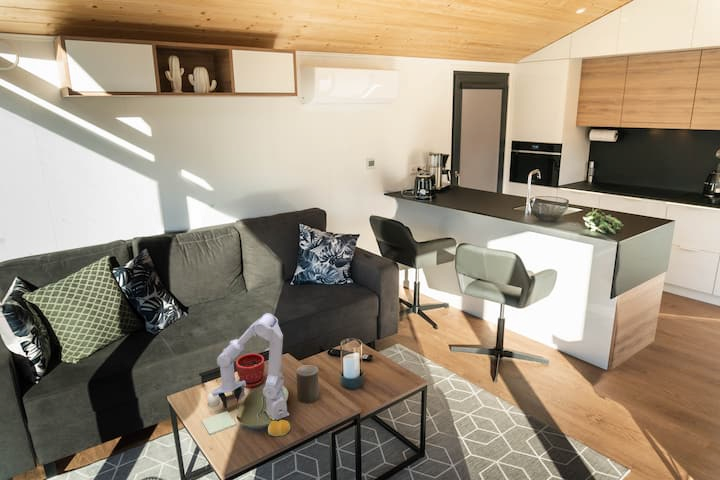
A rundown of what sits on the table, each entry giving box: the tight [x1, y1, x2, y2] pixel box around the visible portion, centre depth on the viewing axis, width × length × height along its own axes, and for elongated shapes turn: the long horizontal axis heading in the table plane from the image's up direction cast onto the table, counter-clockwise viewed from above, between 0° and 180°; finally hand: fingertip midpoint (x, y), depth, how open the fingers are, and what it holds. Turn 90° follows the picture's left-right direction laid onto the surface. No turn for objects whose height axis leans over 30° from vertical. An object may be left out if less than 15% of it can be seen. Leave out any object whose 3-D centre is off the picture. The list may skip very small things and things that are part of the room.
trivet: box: [201, 410, 237, 436], centre depth 205 cm, size 11×11×1 cm
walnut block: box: [224, 393, 239, 413], centre depth 214 cm, size 4×4×5 cm
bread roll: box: [267, 419, 291, 437], centre depth 199 cm, size 8×9×4 cm
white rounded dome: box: [206, 390, 221, 408], centre depth 218 cm, size 5×5×5 cm
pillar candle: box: [295, 364, 320, 404], centre depth 220 cm, size 10×10×15 cm
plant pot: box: [235, 353, 266, 388], centre depth 234 cm, size 13×13×12 cm
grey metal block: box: [231, 386, 246, 400], centre depth 223 cm, size 4×4×4 cm
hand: (230, 405), depth 215 cm, fingers closed on walnut block, 4 cm apart
